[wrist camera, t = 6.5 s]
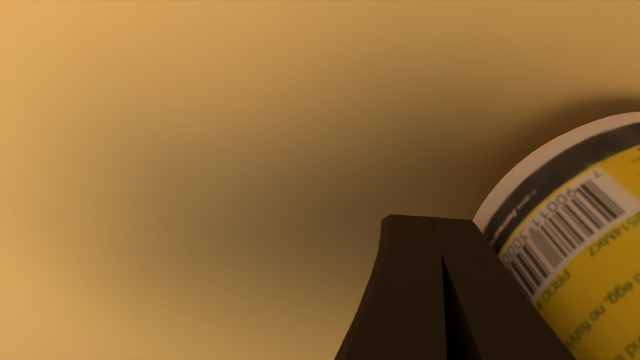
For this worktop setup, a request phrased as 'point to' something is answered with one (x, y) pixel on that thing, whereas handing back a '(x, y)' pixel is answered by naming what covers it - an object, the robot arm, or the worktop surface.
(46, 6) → the worktop surface
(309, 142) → the worktop surface
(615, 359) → the supplement bottle
